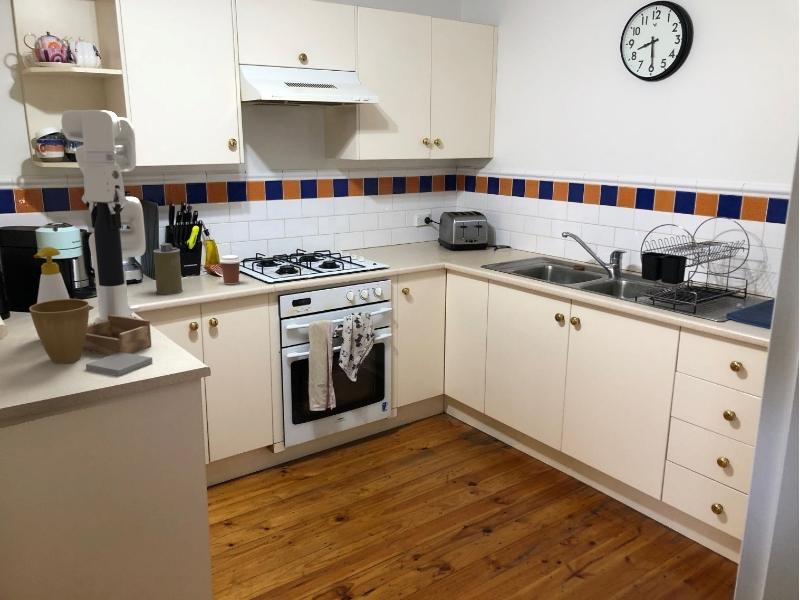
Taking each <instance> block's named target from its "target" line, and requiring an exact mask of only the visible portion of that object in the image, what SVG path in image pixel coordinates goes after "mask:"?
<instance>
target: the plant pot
mask: <svg viewBox="0 0 800 600" xmlns="http://www.w3.org/2000/svg"><path fill="white" fill-rule="evenodd" d="M29 311H30V316H31V319H32V322H33V325H34V328H35V331H36V333H37V336H38V338H39V340H40V342H41V344H42V346H43V349H44V351H45V352H46V354H47V356H48V357H49V359H50V361H51V362H52V363H54V364H68V363H69V364H70V363H73V362H76V361H79V360H80V359H81V357H82V354H83V352H84V350H83V347H84V343H85V339H86V334H87V327H88V326H89V317H90V302H89V301H88V300H83V299H80V298H79V299H77V298H70V299H61V300H52V301H46V302H42V303H38V304H37V303H35V304H33V305H31V306H29Z"/></svg>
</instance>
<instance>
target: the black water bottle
mask: <svg viewBox="0 0 800 600" xmlns="http://www.w3.org/2000/svg"><path fill="white" fill-rule="evenodd" d="M97 210H98V213H97V217H96V221H95V227H94V228H93V230H94V231H93V233H94V237H95V247H96V257H97V268H98V278H99V285H100V286H119V285H123V284H124V283H125V281H124V270H123V267H124V261H123V260H124V259H123V258H124V257H123V258H122V247H121V235H120V229H121V228H119V229H111V228H110V219H109V214H111V212H110V209H109V206H108V204H107V203H101V202H97Z"/></svg>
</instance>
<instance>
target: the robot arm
mask: <svg viewBox="0 0 800 600" xmlns="http://www.w3.org/2000/svg"><path fill="white" fill-rule="evenodd" d="M60 122H61V129H62V132H63V134H64V136H65V138H66V139H67V140H68V141H73V142H81V143H83V144H82V145H80V146H77V148H76V149H75V152H74V153H75V159H76V162H77V165H78V167H79V169H80V171H81V173H82V174H83V189H84V193H83V195H82V197H81V201H82V202H83V203H84V204H85V206H86V207H87V209H88V212H89V213H90V218H91V227H92V228H93V229H94V227H95V221H96V217H97V213H98V210H97V202H101V203H107V204H108V206H109V209H110V212H111V214H109V219H110V228H111V229H120V235H121V247H122V258H136V257H137V258H139V257H142V256H143V255H144V254H145V252H146V248H147V246H146V232H145V221H144V211H143V210H144V209H143V206H142V203H141V201H140V200H139V198H137V197H134V196H125V186H124V180H123V176H122V172H123V173H125V172H132V171H134V169H135V168H136V166H137V152H136V151H137V149H136V135H135V134H136V133H135V129H134V125H133V124H132V122H131V121H130V120H129V118H128V119H127V118H126V117H118V116H117V115H116V113H114V112H112V111H109V110H101V109H86V110H85V109H83V110H82V109H77V110H76V109H70V110H69V109H68V110H67V109H66V110H64V112H63V113H62V116H61V121H60ZM122 226H128V227H129V228H124V229H123V228H122ZM121 228H122V229H121ZM88 246H89V249H90V252H91V253H90V254H91V257H92V261H93V268H94V276H95V277H94V278H95V288H96V298H97V309H98V317H95V318H94V324H96V323H99V322H103V321H106V320H108V315H116V316H123V317H130V318H135V315H133V312H138V311H139V310H140V306H139V305H133V306H131V305H129V298H128V297H129V296H128V287H127V286H128V285H127V274H126V269H125V267H124V266H123V270H124V281H125V283H124V284H123V285H119V286H100V285H99V278H98V268H97V257H96V247H95V237H94V232H92V233H91V234H90V235H89V238H88Z"/></svg>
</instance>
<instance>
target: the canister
mask: <svg viewBox="0 0 800 600" xmlns="http://www.w3.org/2000/svg"><path fill="white" fill-rule="evenodd" d="M159 246H160V248H158V249H154V250H153V251H152V252H153V258H154V259H153V261H154V273H155V286H156V292H155V293H157V294H159V295H176V294H180V293H182V292H184V291H183V284H182V283H183V282H182V271H181V270H182V269H181V268H182V267H181V254H180V253H181V252H180V251H181V250H180V248H178V247H174V246H173V244H172V243H167V242H165V243H162V244H161V243H160V244H159Z"/></svg>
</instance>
